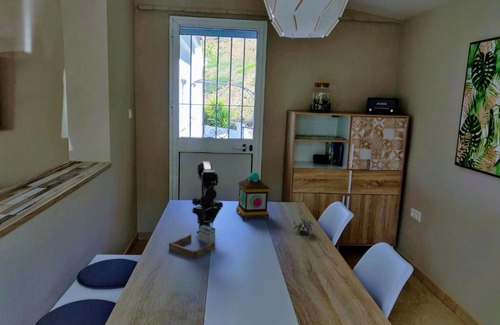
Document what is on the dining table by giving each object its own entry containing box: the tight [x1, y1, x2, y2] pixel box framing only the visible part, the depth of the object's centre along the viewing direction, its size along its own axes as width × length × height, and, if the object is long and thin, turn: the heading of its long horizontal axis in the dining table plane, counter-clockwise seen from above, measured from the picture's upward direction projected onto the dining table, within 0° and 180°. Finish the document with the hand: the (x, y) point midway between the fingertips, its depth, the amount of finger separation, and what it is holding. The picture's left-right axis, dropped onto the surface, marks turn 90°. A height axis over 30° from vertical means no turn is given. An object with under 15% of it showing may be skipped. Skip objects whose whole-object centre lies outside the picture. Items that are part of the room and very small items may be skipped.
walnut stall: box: [168, 234, 216, 260], centre depth 184 cm, size 16×17×4 cm
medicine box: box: [198, 225, 216, 245], centre depth 193 cm, size 8×4×9 cm, turn 57°
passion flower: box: [293, 217, 314, 236], centre depth 214 cm, size 11×11×12 cm
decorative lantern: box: [235, 171, 271, 221], centre depth 238 cm, size 20×20×30 cm
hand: (207, 223), depth 192 cm, fingers open, 9 cm apart
